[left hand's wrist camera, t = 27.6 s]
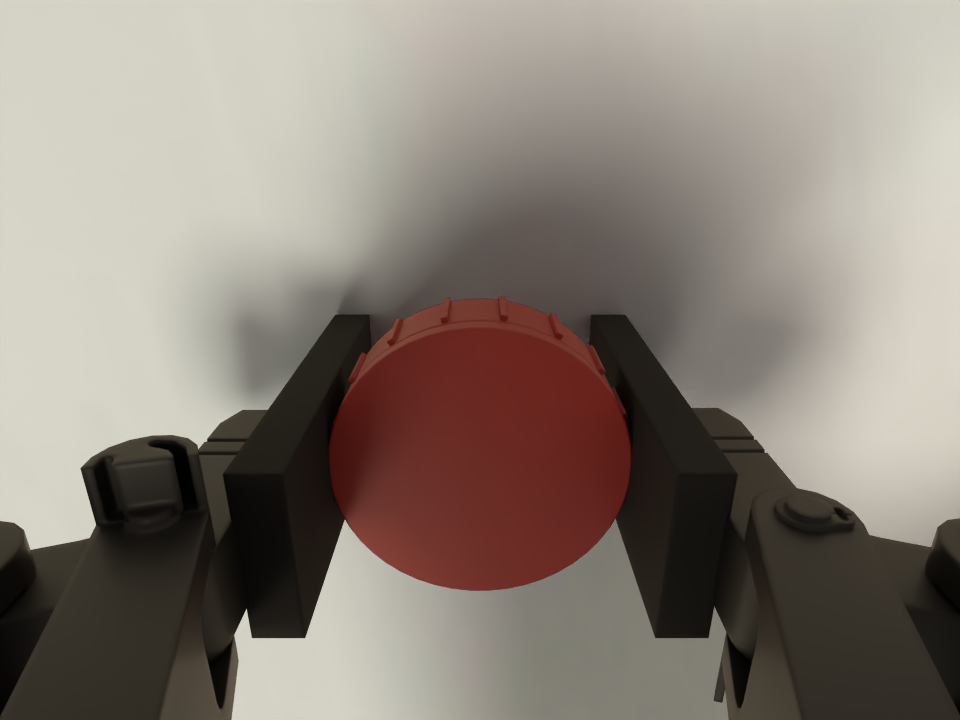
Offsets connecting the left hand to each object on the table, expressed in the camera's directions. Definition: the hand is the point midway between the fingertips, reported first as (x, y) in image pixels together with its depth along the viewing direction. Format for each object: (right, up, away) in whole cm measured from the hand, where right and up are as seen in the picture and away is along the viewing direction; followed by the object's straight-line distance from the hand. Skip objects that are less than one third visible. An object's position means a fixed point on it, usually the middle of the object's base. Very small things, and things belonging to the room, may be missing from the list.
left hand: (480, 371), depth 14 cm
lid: (0, -1, -4) cm, 4 cm away
